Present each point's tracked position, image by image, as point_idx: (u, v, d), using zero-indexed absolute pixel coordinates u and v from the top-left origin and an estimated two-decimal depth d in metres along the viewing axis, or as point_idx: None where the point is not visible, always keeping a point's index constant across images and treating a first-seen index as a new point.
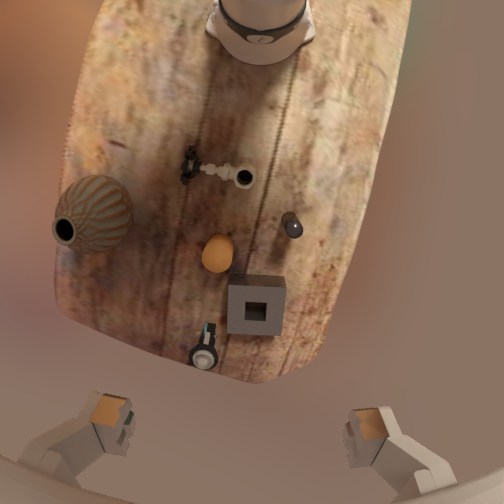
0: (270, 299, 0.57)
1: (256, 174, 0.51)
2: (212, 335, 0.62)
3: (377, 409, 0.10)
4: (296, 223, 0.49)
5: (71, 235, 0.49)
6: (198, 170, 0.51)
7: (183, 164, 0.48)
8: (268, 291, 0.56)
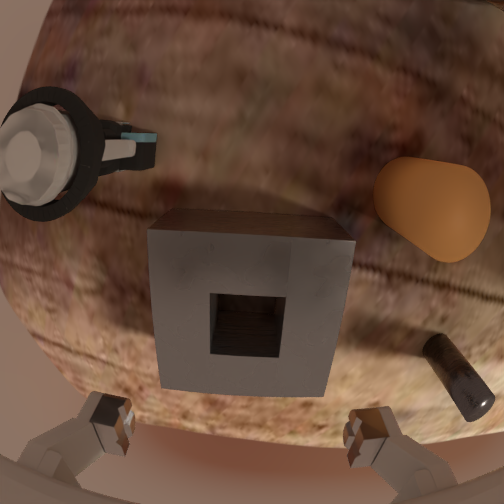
0: (290, 365, 0.17)
1: None
2: (121, 164, 0.16)
3: (377, 409, 0.10)
4: (489, 407, 0.16)
5: None
6: None
7: None
8: (318, 358, 0.17)
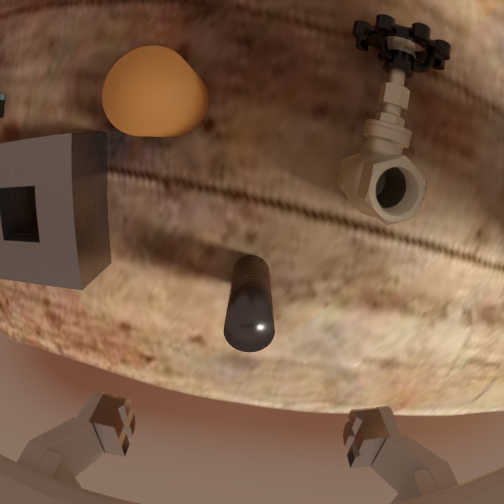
0: (48, 250, 0.18)
1: None
2: None
3: (377, 409, 0.10)
4: (270, 335, 0.16)
5: None
6: (396, 64, 0.15)
7: (428, 30, 0.12)
8: (65, 243, 0.18)
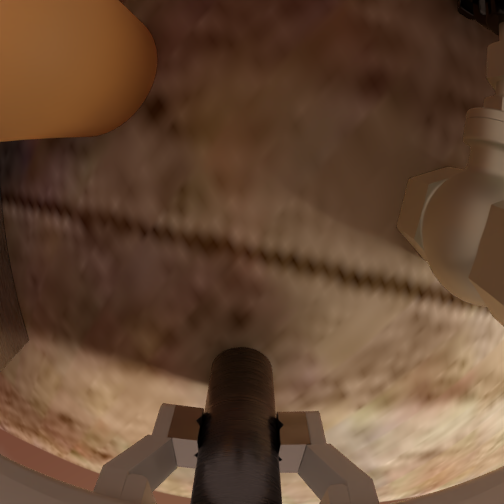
0: None
1: None
2: None
3: (304, 414, 0.10)
4: None
5: None
6: None
7: None
8: None
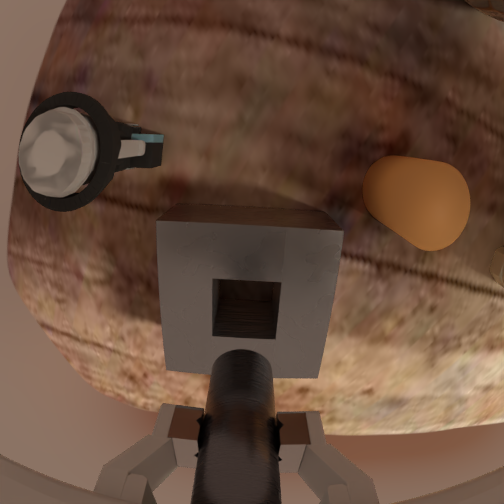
0: (285, 347, 0.19)
1: None
2: (132, 162, 0.18)
3: (303, 414, 0.10)
4: None
5: None
6: None
7: None
8: (312, 340, 0.19)
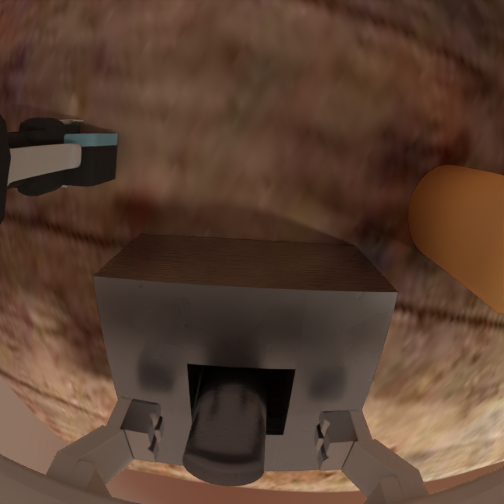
0: (297, 442, 0.12)
1: None
2: (65, 178, 0.11)
3: (347, 412, 0.10)
4: (257, 472, 0.09)
5: None
6: None
7: None
8: None
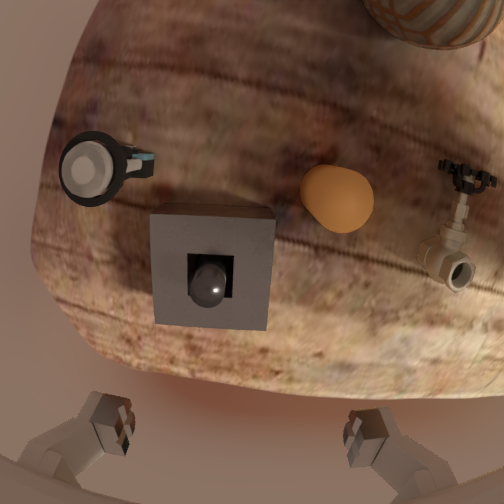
0: (240, 304, 0.27)
1: None
2: (132, 174, 0.26)
3: (377, 409, 0.10)
4: (221, 295, 0.24)
5: None
6: (465, 192, 0.26)
7: (489, 176, 0.23)
8: (258, 299, 0.27)
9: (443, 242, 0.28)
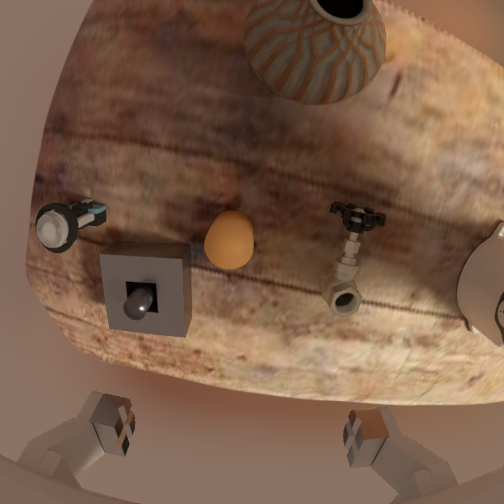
0: (164, 317, 0.37)
1: None
2: (89, 223, 0.35)
3: (377, 409, 0.10)
4: (143, 312, 0.33)
5: None
6: (353, 230, 0.34)
7: (371, 218, 0.31)
8: (176, 314, 0.36)
9: (335, 273, 0.37)
